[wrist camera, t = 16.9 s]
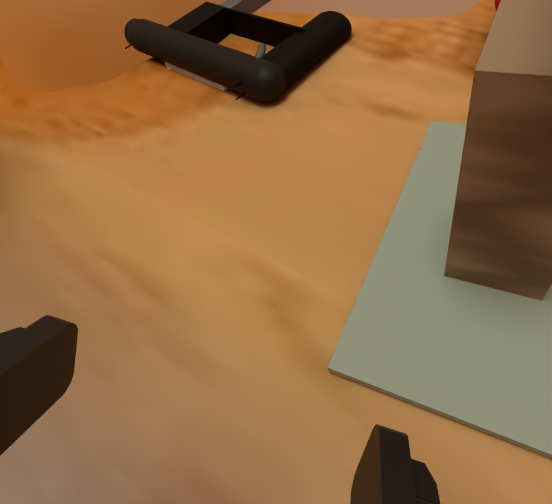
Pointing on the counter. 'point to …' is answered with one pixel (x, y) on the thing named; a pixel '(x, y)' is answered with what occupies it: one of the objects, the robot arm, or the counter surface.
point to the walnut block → (508, 159)
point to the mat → (448, 319)
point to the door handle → (234, 64)
